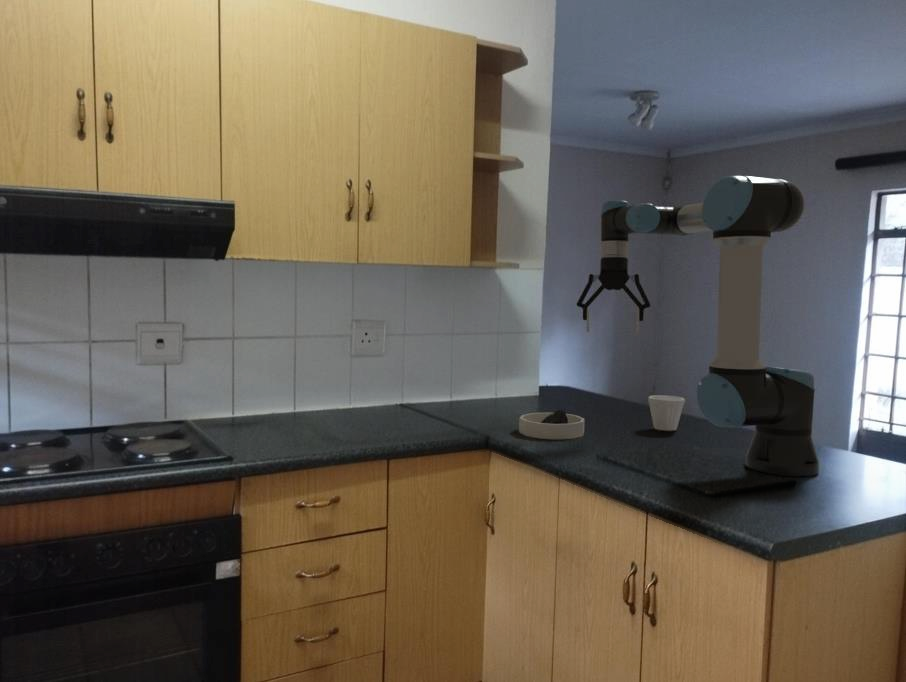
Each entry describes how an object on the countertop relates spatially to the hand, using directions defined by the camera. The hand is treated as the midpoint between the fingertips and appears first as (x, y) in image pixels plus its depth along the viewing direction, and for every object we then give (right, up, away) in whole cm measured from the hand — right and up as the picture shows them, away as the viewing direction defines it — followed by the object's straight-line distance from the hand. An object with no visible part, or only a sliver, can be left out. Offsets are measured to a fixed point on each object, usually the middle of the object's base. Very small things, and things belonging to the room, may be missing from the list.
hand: (612, 332), depth 201 cm
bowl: (-18, -28, -2) cm, 33 cm away
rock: (-17, -28, -4) cm, 33 cm away
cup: (+16, -28, +3) cm, 33 cm away
